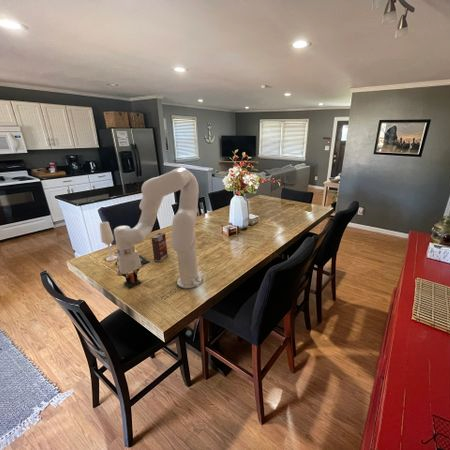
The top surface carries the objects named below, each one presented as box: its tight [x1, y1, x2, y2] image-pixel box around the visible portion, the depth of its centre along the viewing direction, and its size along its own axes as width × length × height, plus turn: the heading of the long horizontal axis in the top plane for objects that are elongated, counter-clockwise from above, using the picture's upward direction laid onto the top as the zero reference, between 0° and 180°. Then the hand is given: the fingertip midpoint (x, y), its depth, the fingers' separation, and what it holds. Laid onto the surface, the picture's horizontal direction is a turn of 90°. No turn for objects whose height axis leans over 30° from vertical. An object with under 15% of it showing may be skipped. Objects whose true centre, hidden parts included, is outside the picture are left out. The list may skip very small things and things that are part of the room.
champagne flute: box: [99, 221, 117, 262], centre depth 149 cm, size 7×7×24 cm
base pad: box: [115, 254, 149, 265], centre depth 147 cm, size 14×14×2 cm
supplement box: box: [151, 232, 169, 263], centre depth 151 cm, size 9×5×16 cm, turn 168°
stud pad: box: [123, 271, 142, 289], centre depth 125 cm, size 6×6×6 cm
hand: (132, 281), depth 126 cm, fingers closed on stud pad, 2 cm apart
